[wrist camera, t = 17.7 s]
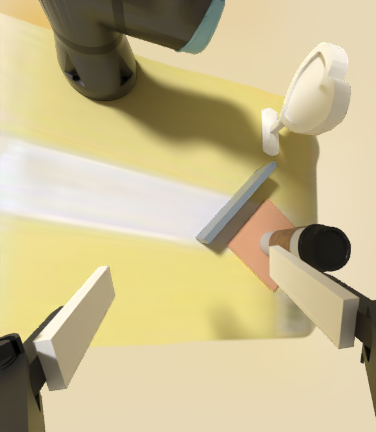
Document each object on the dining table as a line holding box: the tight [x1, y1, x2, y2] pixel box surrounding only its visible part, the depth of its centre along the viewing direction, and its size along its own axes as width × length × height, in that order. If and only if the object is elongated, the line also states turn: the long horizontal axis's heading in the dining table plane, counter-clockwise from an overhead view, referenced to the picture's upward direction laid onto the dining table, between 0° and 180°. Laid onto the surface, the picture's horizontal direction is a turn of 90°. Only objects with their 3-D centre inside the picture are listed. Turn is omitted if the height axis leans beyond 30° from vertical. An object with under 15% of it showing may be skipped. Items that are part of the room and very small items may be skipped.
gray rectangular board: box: [196, 161, 278, 244], centre depth 40 cm, size 2×24×6 cm, turn 136°
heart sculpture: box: [262, 42, 351, 156], centre depth 39 cm, size 16×5×18 cm, turn 179°
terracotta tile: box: [227, 199, 295, 291], centre depth 44 cm, size 16×16×1 cm
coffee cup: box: [260, 224, 351, 272], centre depth 36 cm, size 8×8×15 cm
